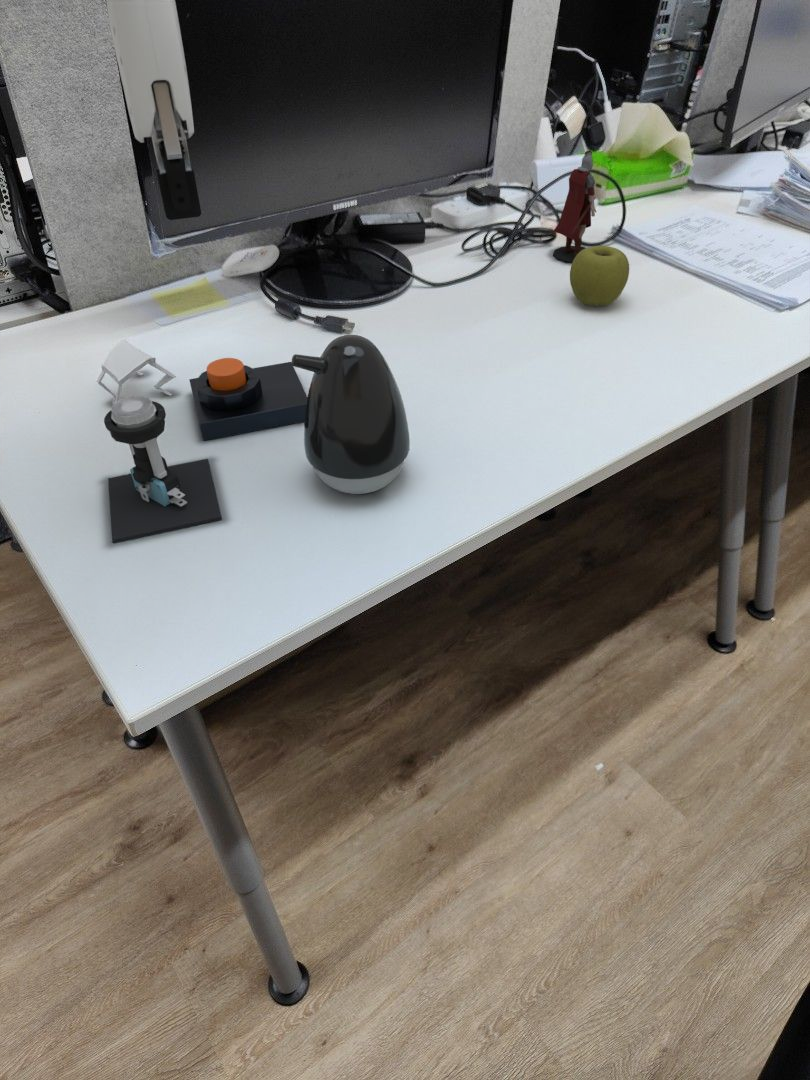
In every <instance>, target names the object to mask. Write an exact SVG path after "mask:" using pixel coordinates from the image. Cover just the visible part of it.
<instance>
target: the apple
mask: <svg viewBox="0 0 810 1080" xmlns="http://www.w3.org/2000/svg"><path fill="white" fill-rule="evenodd" d="M629 276H630V263H629V258H628V257H627V255H626V254H625V253H624V252H623V251H622V250H620V249H618V248H616V247H614V246H609V245H592V246H588V247H585V249H583V250H582V251H580V252H579V253H578V254H577V255H576V257H575V258H574V260H573V262H572V263H571V265H570V269H569V282H570V287H571V290H572V293H573V295H574V296H575V298H576V299H577V300H578V301H579V302H580V303H581V304H583V305H585V306H590V307H602V306H607V305H610V304H613V302H615V301H616V300H617V299H618V298H619V297H620V296H621V294H622V293H623V291H624V289H625V287H626V285H627V283H628V280H629Z"/></svg>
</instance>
